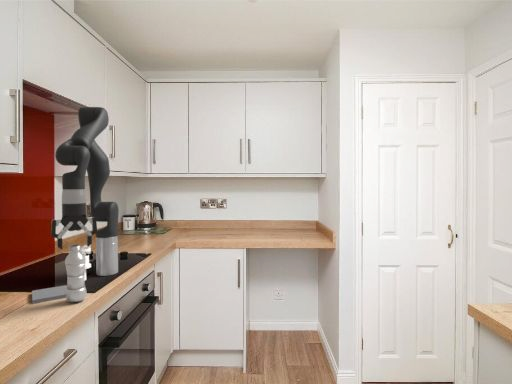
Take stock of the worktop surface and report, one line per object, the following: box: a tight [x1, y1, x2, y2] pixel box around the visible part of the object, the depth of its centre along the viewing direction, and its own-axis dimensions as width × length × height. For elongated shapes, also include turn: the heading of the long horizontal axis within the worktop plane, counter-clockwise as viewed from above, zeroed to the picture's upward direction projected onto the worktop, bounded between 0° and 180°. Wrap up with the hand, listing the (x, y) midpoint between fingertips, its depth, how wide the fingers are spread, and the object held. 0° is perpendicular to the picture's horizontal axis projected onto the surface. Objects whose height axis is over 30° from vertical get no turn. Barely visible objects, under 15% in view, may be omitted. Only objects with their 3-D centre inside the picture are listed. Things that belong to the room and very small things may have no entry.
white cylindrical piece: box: [80, 244, 92, 281], centre depth 141 cm, size 7×7×15 cm
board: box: [31, 284, 67, 304], centre depth 124 cm, size 12×14×1 cm
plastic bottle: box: [64, 244, 87, 303], centre depth 117 cm, size 6×7×20 cm
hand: (74, 247), depth 116 cm, fingers open, 8 cm apart
